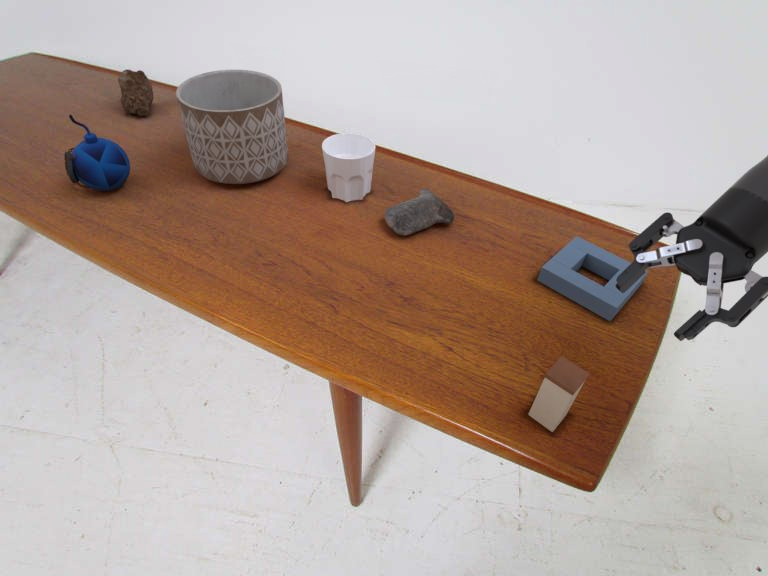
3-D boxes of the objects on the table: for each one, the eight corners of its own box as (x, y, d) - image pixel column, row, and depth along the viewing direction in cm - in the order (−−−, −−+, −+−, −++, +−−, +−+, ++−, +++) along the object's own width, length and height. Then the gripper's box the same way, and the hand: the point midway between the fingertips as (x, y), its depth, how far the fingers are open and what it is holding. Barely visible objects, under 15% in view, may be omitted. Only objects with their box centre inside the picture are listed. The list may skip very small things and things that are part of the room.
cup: (380, 200, 98) (382, 155, 92) (331, 208, 96) (329, 162, 89) (365, 174, 105) (366, 130, 98) (318, 181, 102) (316, 136, 96)
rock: (142, 120, 118) (122, 76, 112) (124, 119, 121) (103, 77, 114) (170, 104, 124) (152, 62, 118) (152, 104, 127) (134, 63, 121)
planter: (177, 182, 100) (154, 102, 88) (221, 138, 114) (207, 64, 102) (267, 198, 97) (256, 117, 86) (302, 151, 111) (296, 76, 99)
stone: (380, 223, 97) (400, 252, 90) (374, 202, 94) (394, 230, 87) (435, 199, 99) (459, 225, 92) (431, 177, 95) (456, 203, 88)
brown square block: (566, 414, 65) (589, 373, 59) (552, 432, 63) (574, 392, 57) (542, 397, 67) (561, 355, 60) (527, 414, 65) (546, 373, 58)
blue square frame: (641, 284, 84) (648, 271, 82) (609, 321, 77) (617, 308, 75) (571, 248, 90) (576, 235, 88) (537, 280, 83) (541, 267, 81)
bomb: (73, 181, 98) (40, 108, 88) (131, 169, 103) (106, 97, 92) (79, 207, 92) (44, 131, 82) (141, 193, 97) (115, 119, 86)
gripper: (700, 161, 56) (593, 266, 60) (830, 230, 47) (695, 348, 51) (707, 190, 62) (608, 284, 66) (824, 257, 53) (703, 362, 57)
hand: (646, 312), depth 58 cm, fingers open, 8 cm apart
